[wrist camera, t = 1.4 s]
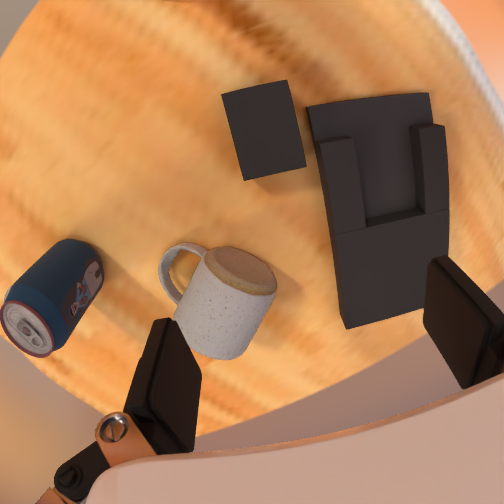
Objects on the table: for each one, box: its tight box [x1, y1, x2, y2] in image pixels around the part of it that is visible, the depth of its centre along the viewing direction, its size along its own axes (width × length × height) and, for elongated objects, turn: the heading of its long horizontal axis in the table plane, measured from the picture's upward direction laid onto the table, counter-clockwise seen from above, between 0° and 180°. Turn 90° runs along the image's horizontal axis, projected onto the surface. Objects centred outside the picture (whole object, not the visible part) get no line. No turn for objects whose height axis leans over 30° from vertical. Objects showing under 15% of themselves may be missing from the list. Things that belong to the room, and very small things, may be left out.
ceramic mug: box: [159, 243, 277, 360], centre depth 29 cm, size 11×8×8 cm
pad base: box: [306, 93, 449, 330], centre depth 28 cm, size 22×12×3 cm, turn 14°
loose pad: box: [221, 80, 307, 181], centre depth 24 cm, size 7×5×4 cm
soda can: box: [0, 239, 104, 358], centre depth 26 cm, size 7×7×12 cm
